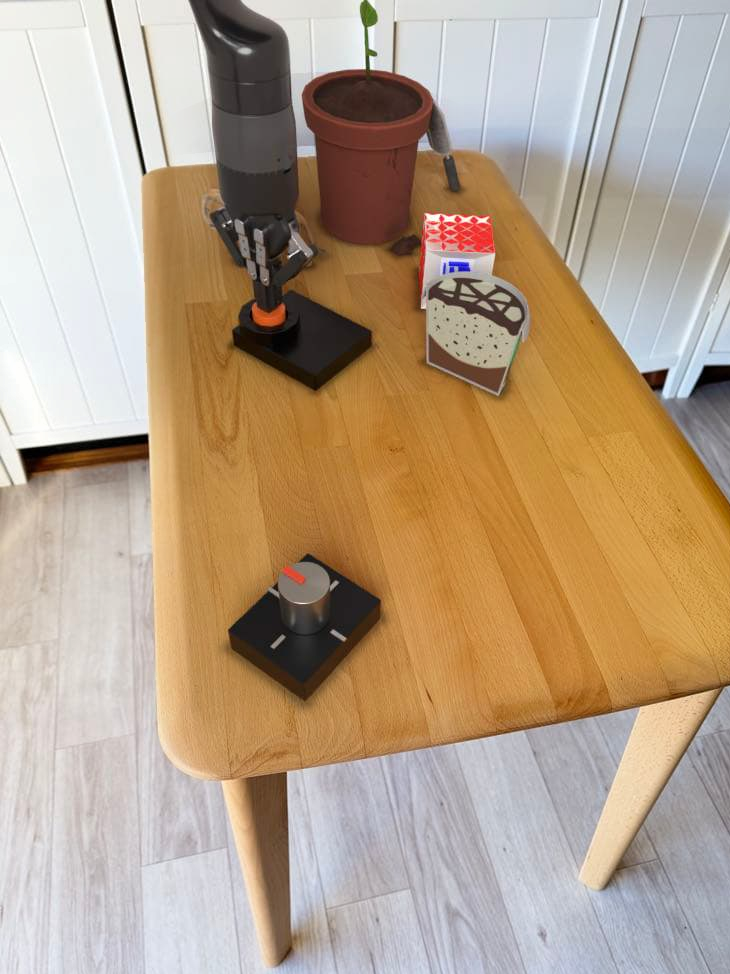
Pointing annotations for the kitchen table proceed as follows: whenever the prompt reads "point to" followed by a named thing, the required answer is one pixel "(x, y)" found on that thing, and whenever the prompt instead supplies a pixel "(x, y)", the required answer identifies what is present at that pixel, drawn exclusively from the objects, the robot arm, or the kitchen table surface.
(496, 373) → the food container
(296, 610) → the dial
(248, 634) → the dial panel
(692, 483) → the kitchen table surface
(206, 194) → the lion figurine
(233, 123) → the robot arm
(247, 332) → the black button box
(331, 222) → the potted plant
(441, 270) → the red white box
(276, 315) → the button
